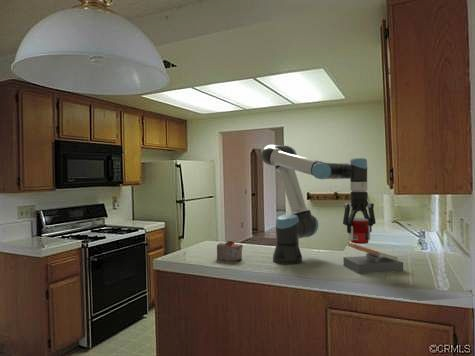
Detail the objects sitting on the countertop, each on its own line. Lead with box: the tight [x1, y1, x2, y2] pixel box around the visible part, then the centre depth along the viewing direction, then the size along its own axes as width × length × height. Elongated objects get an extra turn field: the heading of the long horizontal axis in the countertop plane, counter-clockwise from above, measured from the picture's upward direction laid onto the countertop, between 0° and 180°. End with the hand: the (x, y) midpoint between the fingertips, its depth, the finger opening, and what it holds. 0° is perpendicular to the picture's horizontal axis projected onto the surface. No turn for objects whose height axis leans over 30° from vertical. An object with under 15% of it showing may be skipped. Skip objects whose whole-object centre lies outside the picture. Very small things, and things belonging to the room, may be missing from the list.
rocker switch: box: [347, 242, 399, 260], centre depth 154 cm, size 20×10×2 cm, turn 99°
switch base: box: [343, 253, 404, 274], centre depth 154 cm, size 22×14×6 cm, turn 99°
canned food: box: [350, 217, 370, 245], centre depth 153 cm, size 8×8×11 cm
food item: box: [216, 240, 244, 262], centre depth 172 cm, size 14×8×10 cm, turn 69°
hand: (359, 239), depth 153 cm, fingers closed on canned food, 8 cm apart
